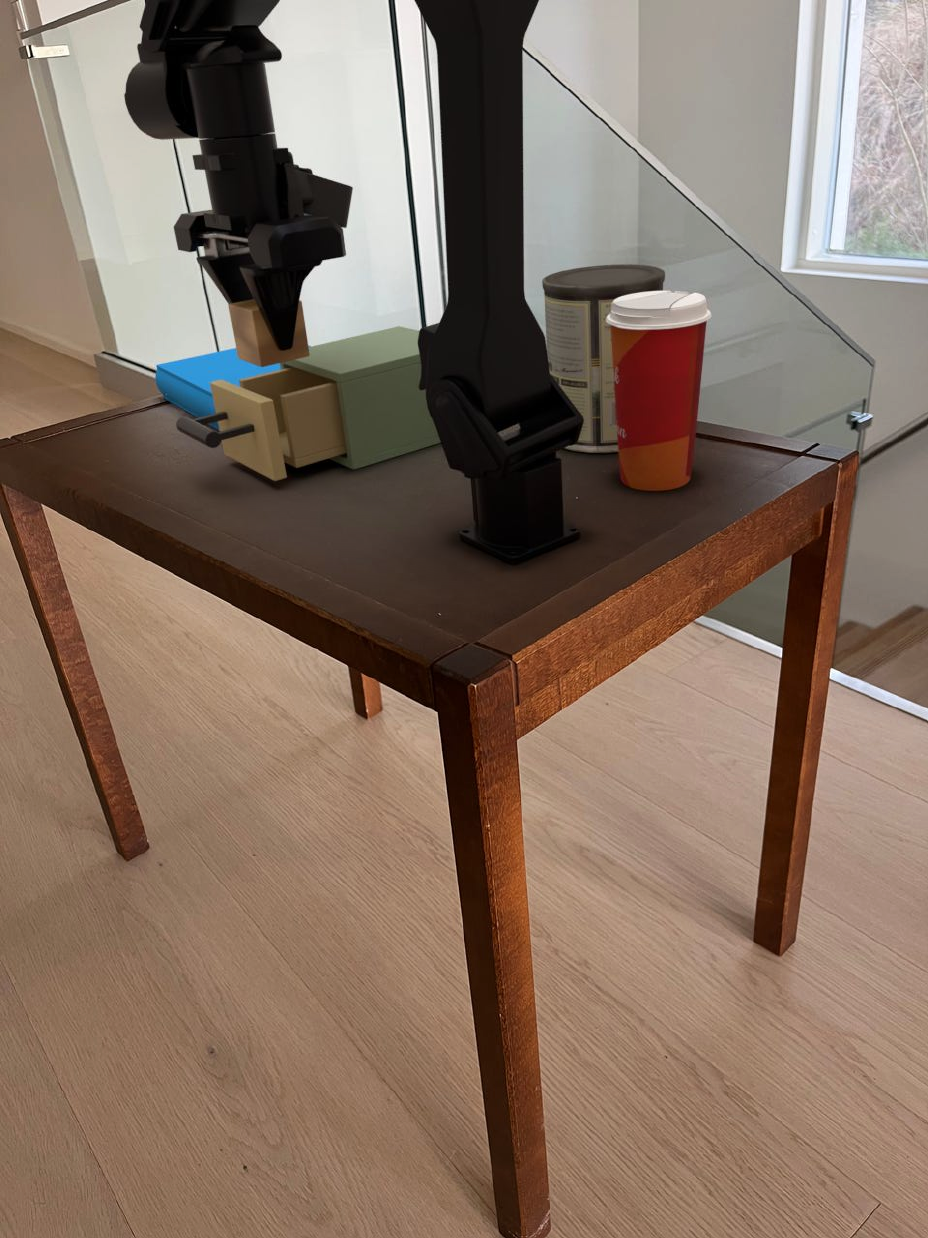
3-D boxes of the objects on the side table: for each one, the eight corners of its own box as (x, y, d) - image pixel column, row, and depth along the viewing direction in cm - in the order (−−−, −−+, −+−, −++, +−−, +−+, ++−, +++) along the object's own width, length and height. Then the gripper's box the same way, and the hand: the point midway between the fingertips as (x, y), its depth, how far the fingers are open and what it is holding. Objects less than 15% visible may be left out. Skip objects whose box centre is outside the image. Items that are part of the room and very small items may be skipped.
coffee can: (597, 411, 94) (595, 260, 87) (684, 429, 87) (690, 267, 80) (524, 440, 88) (516, 280, 81) (612, 462, 81) (611, 289, 74)
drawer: (225, 496, 79) (208, 416, 75) (178, 467, 86) (161, 393, 83) (397, 444, 87) (388, 369, 84) (340, 421, 94) (330, 353, 91)
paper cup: (644, 455, 82) (646, 285, 75) (723, 473, 76) (732, 292, 70) (586, 483, 77) (583, 305, 70) (666, 504, 72) (670, 314, 65)
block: (310, 356, 79) (301, 300, 77) (261, 367, 77) (251, 310, 75) (285, 347, 83) (276, 294, 80) (237, 358, 80) (227, 303, 78)
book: (284, 337, 118) (385, 366, 99) (290, 371, 120) (391, 407, 101) (149, 365, 110) (232, 403, 91) (158, 402, 112) (241, 447, 93)
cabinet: (353, 470, 84) (339, 373, 80) (293, 442, 93) (277, 353, 89) (475, 432, 91) (468, 341, 87) (408, 409, 99) (399, 325, 95)
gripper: (393, 124, 69) (414, 342, 77) (276, 129, 82) (304, 313, 90) (255, 139, 64) (292, 372, 71) (153, 141, 77) (193, 336, 85)
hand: (272, 345), depth 79 cm, fingers closed on block, 4 cm apart
